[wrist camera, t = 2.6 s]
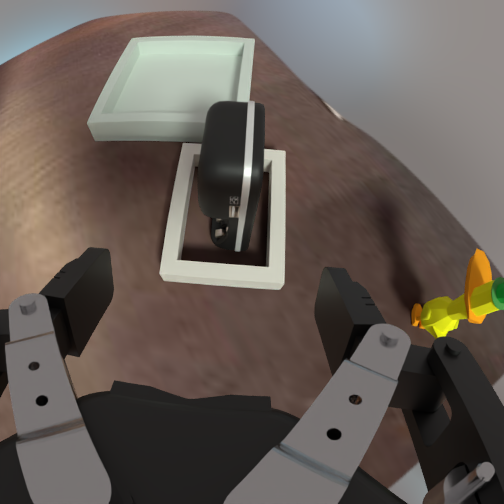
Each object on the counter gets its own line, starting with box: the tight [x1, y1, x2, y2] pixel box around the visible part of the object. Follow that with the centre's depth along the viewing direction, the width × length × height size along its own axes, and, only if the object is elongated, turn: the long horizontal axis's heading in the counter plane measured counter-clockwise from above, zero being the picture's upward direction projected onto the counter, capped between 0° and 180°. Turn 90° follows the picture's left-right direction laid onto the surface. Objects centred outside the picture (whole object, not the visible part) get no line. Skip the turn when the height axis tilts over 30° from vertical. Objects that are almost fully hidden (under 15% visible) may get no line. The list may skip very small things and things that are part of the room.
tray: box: [87, 36, 255, 143], centre depth 32 cm, size 16×16×3 cm
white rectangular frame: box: [160, 143, 285, 290], centre depth 27 cm, size 9×12×2 cm
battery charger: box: [198, 101, 265, 252], centre depth 23 cm, size 7×4×11 cm, turn 178°
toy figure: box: [411, 249, 504, 339], centre depth 21 cm, size 7×4×12 cm, turn 162°
